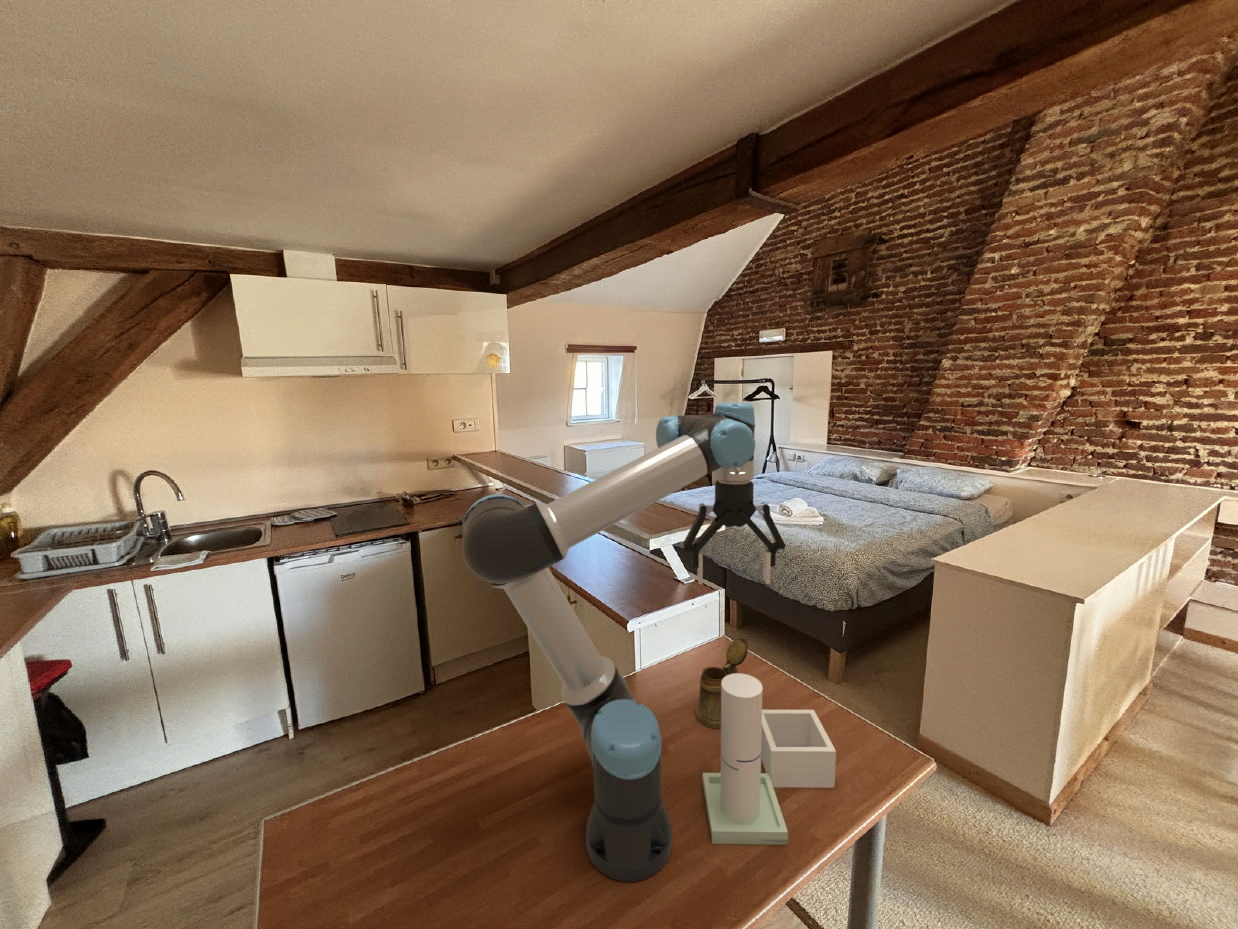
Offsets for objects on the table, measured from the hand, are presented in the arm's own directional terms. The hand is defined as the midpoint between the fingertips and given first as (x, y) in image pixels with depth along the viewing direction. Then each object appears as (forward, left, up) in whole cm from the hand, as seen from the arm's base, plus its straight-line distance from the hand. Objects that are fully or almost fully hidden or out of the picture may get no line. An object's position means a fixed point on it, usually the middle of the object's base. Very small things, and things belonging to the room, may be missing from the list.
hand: (733, 581), depth 101 cm
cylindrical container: (-1, -16, -38) cm, 41 cm away
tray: (-1, -16, -39) cm, 42 cm away
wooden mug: (0, +12, -39) cm, 41 cm away
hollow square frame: (+12, -4, -39) cm, 41 cm away
